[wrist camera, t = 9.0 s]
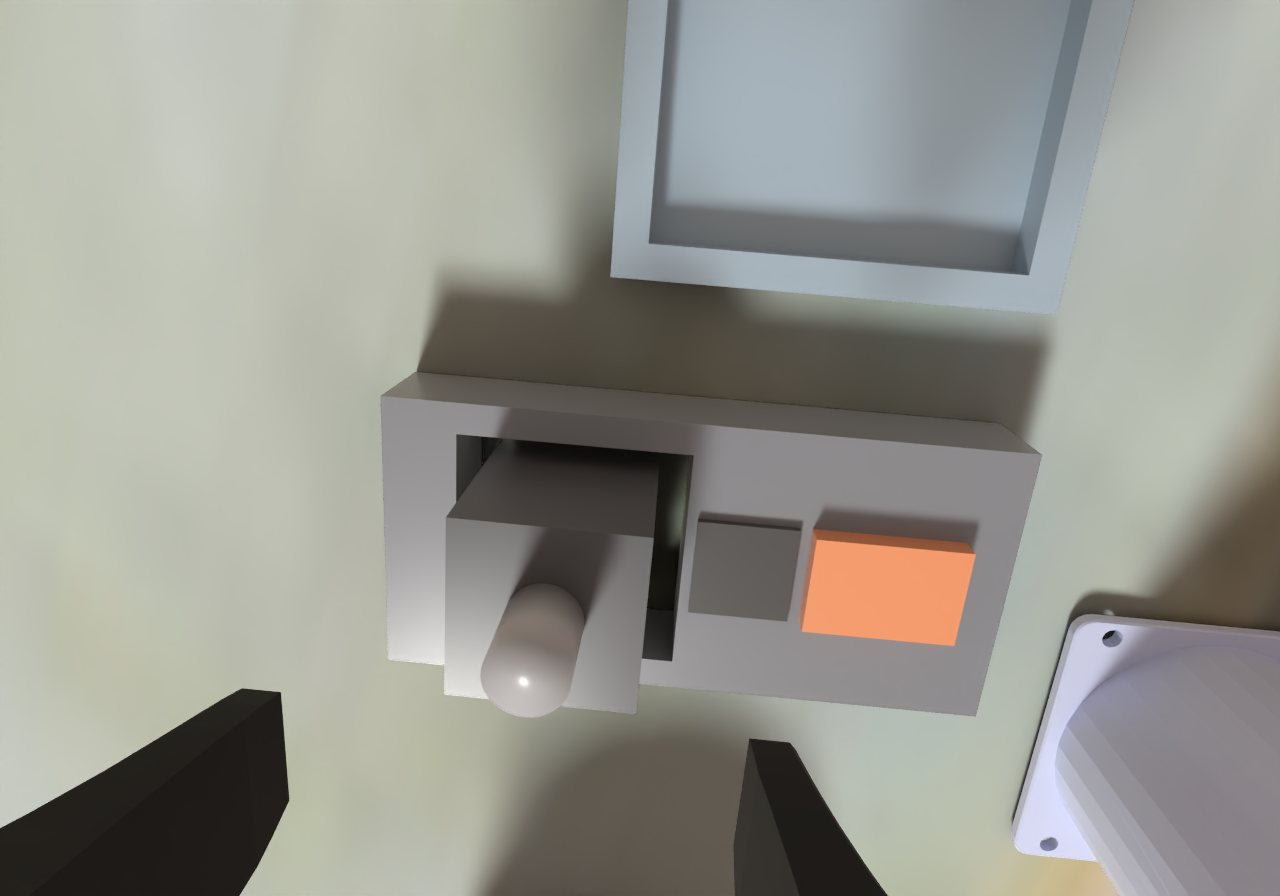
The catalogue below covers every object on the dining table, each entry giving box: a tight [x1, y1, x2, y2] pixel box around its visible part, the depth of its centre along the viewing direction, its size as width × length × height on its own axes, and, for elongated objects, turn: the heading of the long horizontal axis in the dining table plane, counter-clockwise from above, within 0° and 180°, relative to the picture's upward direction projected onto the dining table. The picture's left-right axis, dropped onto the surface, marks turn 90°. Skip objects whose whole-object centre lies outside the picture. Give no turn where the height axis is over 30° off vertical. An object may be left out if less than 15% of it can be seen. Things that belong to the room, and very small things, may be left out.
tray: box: [610, 0, 1134, 315], centre depth 17 cm, size 10×10×2 cm
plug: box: [444, 438, 660, 717], centre depth 18 cm, size 4×4×8 cm
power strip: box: [381, 372, 1042, 716], centre depth 20 cm, size 15×7×3 cm, turn 86°
